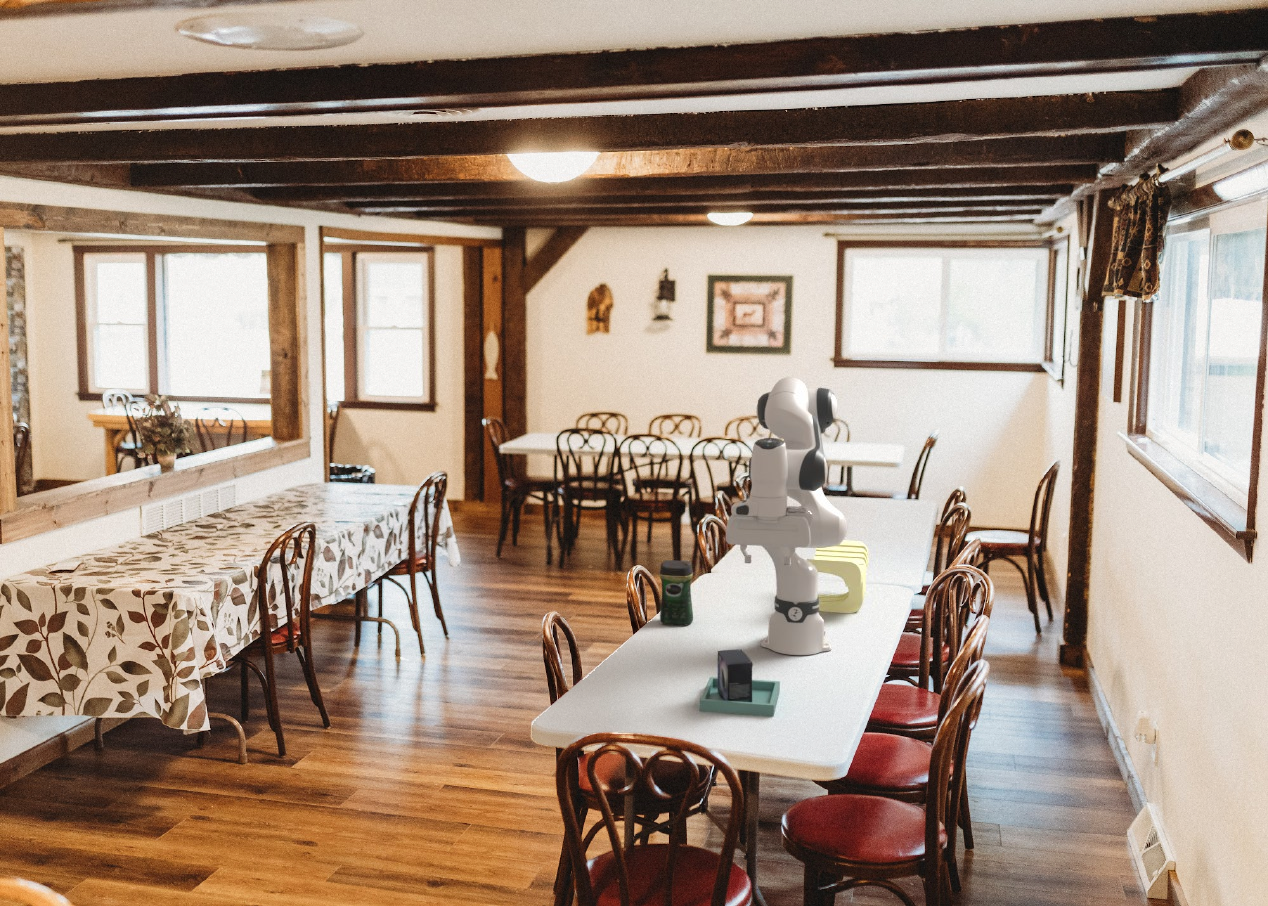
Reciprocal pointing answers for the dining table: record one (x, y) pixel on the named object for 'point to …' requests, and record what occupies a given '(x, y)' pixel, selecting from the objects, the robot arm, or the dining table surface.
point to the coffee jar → (676, 593)
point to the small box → (734, 675)
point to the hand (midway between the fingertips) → (767, 563)
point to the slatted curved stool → (843, 574)
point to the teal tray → (761, 702)
